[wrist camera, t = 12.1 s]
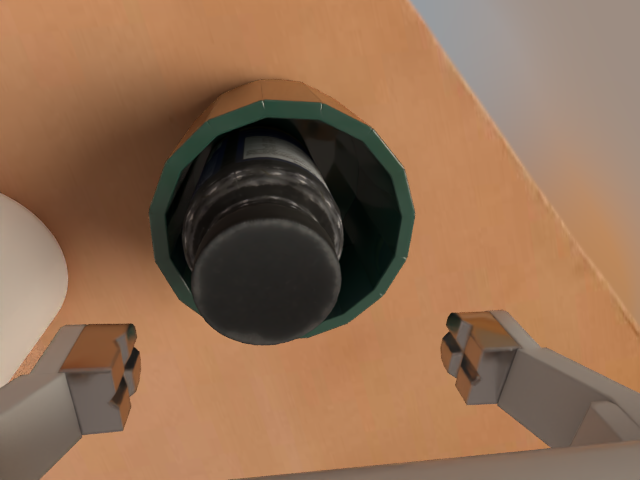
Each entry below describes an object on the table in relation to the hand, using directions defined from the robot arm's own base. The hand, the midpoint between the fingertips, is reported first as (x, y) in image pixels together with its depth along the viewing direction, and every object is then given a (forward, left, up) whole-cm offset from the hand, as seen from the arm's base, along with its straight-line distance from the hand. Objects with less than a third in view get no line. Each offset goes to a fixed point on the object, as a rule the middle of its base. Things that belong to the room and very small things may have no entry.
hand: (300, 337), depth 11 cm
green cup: (0, 0, -14) cm, 14 cm away
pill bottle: (-1, 0, -14) cm, 14 cm away
